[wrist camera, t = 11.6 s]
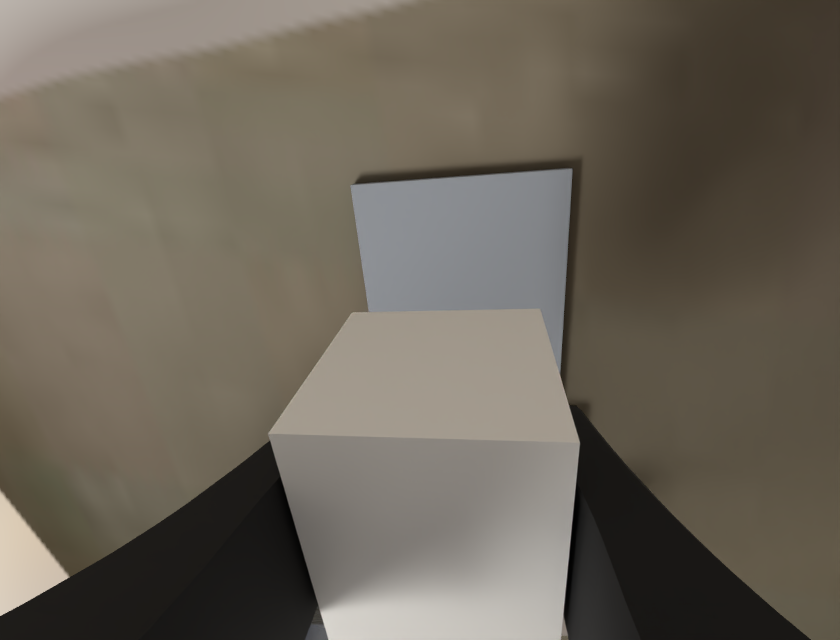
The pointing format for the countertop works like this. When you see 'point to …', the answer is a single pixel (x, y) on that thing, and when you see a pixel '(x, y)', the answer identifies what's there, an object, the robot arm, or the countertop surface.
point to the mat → (467, 244)
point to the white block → (434, 477)
